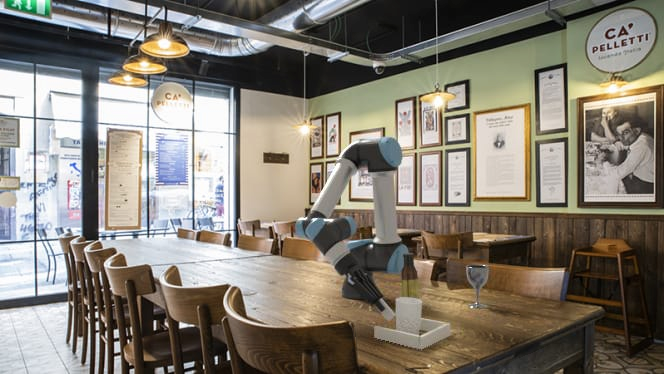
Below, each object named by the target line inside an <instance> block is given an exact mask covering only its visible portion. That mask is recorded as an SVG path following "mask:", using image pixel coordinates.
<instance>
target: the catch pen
mask: <svg viewBox="0 0 664 374" xmlns="http://www.w3.org/2000/svg"><path fill="white" fill-rule="evenodd" d="M373 329H374V331H373V332H374V335H373V336H374V337H373V339H374V338H377V339H376V340H378V339H381V340H380V341H382V340H385V341H384V342H386V341H389V342H388V343H390V342H393V343H392V344H394V343H397V344H396V345H398V344H400V345H399V346H402V345H404V346H403V347H406V346H408V347H407V348H410V347H413V348H412V349H414V348H417V349H416V350H418V349H421V350H420V351H423V350H422V349H424V348H426V347H427V348H429V347H431V346H433V345H435V344H437V343H439V342H441V341H442V339H443V340H445V339H446V338H448V337H450V336H451V323H449V322H445V321H444V322H443V321H439V320H434V319H429V318H423V317H421V322H420V328H419V331H423V332H426V333H424V334H422V335H420V334H419V335H415V334H410V333H406V332H401V331H397V329H393V328H388V327H383V326H378V325H375V326H374V327H373ZM440 340H441V341H440ZM438 341H439V342H438ZM436 342H437V343H436ZM434 343H435V344H434ZM432 344H433V345H432ZM430 345H431V346H430ZM428 346H429V347H428ZM427 348H426V349H427ZM424 350H425V349H424Z"/></svg>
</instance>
